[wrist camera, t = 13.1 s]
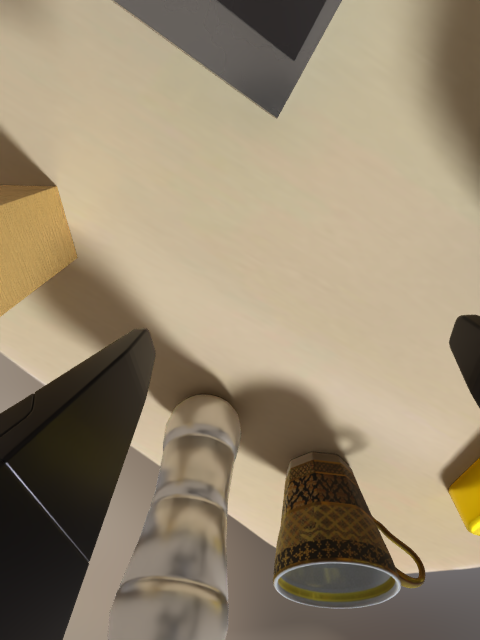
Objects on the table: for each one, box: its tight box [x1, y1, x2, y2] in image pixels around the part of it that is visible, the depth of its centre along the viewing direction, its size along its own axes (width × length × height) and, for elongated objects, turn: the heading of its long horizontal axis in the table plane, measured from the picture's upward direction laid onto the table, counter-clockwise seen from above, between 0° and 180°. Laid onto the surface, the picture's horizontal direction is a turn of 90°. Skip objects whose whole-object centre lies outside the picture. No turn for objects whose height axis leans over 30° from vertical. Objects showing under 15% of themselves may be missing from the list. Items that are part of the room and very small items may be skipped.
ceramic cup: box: [273, 452, 425, 608], centre depth 29 cm, size 13×10×10 cm
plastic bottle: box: [108, 395, 241, 640], centre depth 21 cm, size 6×7×20 cm
